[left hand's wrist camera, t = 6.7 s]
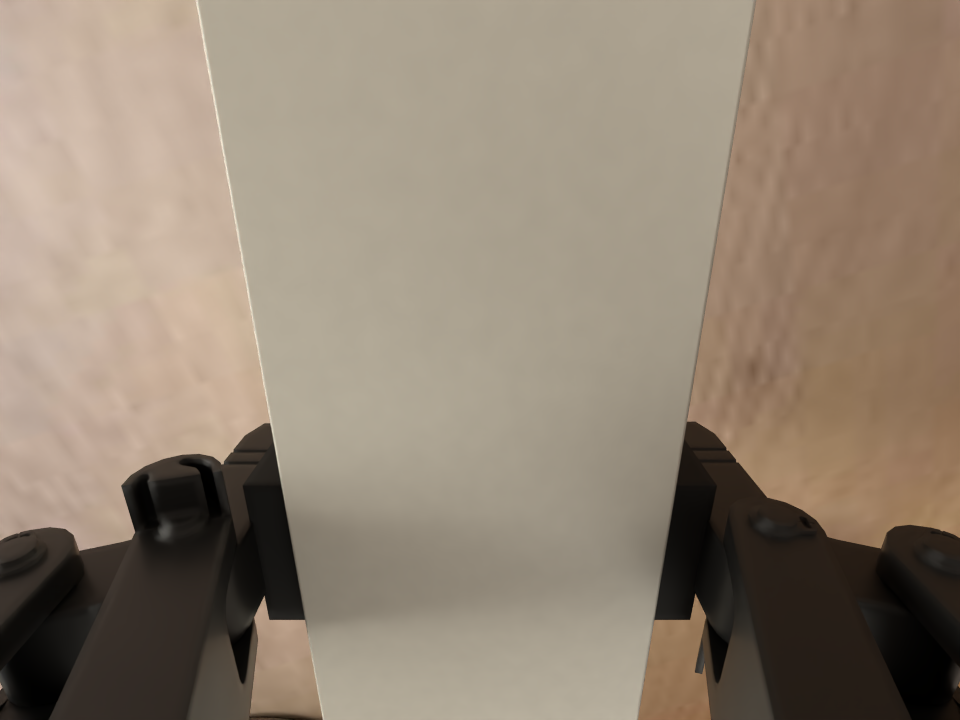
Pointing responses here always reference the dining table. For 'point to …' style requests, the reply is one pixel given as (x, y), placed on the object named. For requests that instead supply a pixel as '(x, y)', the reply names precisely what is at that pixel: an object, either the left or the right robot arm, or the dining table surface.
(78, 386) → the dining table surface
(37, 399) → the dining table surface
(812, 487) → the dining table surface
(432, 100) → the bar
